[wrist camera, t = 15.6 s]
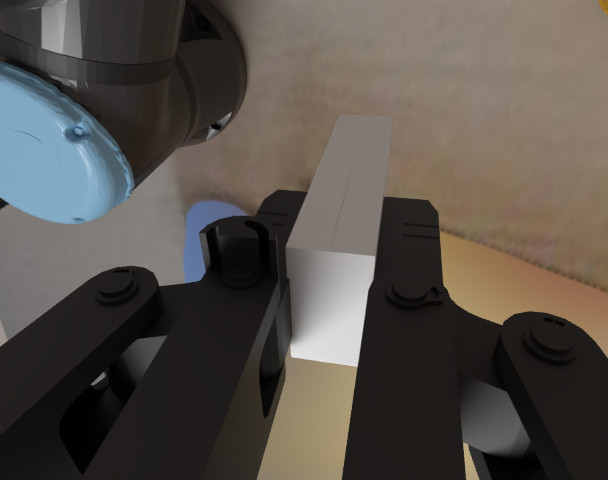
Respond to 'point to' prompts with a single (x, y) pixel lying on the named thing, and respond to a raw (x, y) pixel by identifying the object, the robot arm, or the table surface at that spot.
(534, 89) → the table surface
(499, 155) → the table surface
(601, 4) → the beer can
